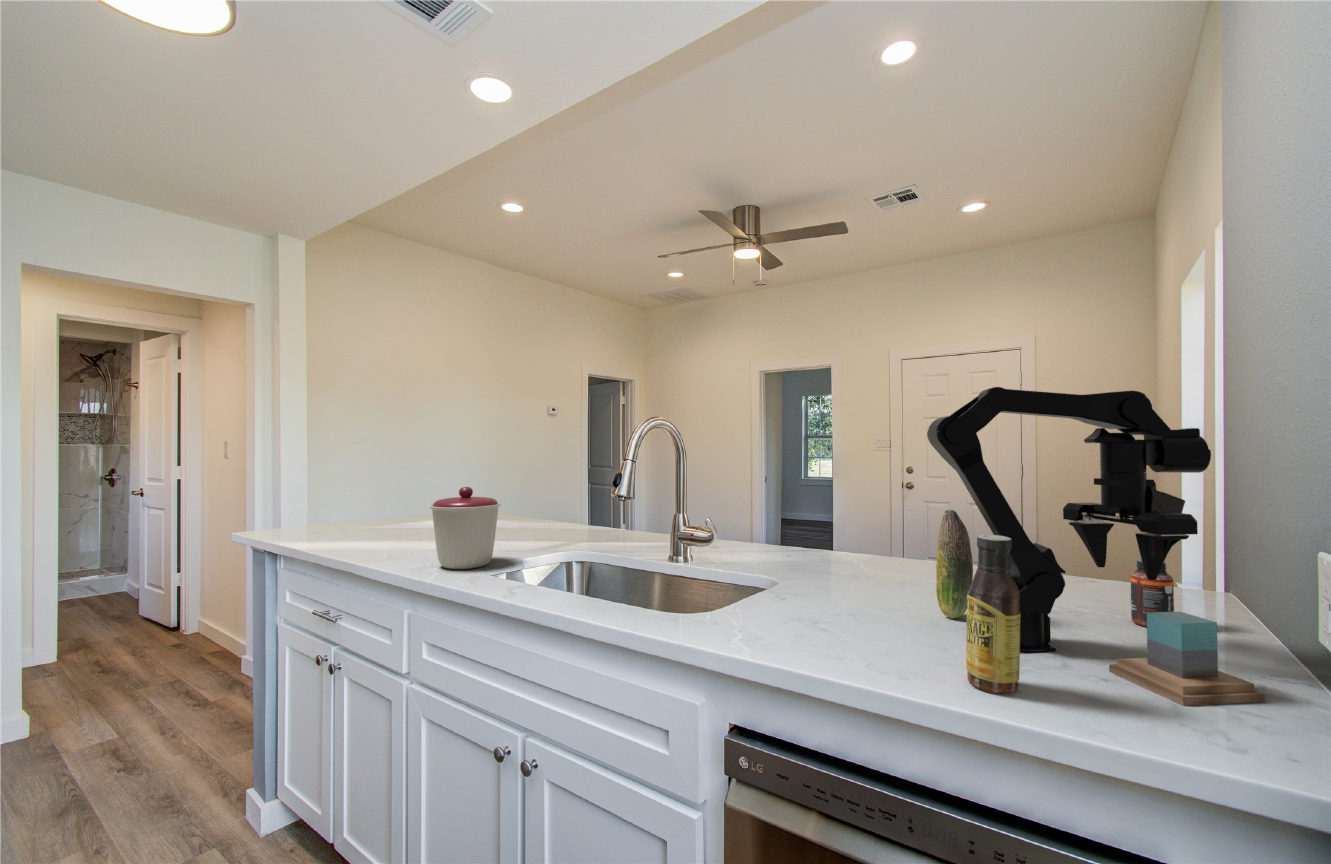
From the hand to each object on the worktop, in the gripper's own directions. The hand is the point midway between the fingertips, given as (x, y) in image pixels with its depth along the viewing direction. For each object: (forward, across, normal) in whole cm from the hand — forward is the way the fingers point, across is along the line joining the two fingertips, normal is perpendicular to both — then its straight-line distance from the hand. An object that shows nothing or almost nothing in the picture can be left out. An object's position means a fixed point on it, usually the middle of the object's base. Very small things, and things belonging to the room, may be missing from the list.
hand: (1125, 573), depth 93 cm
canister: (+12, +78, +118) cm, 142 cm away
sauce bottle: (+12, -11, +29) cm, 33 cm away
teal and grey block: (+10, -13, +4) cm, 17 cm away
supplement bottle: (+12, +12, -16) cm, 23 cm away
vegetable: (+12, +20, +16) cm, 28 cm away
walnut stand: (+12, -13, +4) cm, 18 cm away
